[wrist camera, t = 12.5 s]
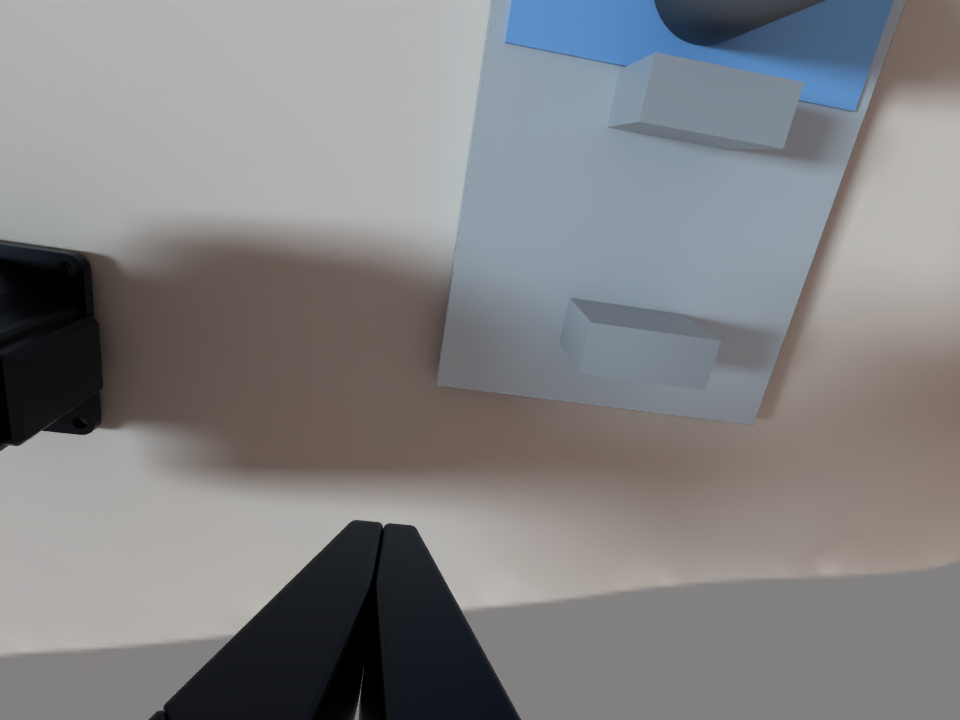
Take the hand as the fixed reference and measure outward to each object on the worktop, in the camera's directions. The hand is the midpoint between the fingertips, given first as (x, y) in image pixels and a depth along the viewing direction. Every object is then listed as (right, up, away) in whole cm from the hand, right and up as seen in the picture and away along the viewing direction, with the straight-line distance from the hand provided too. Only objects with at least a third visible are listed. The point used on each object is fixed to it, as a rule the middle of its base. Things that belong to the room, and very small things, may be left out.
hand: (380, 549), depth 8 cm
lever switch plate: (+7, +11, +11) cm, 17 cm away
